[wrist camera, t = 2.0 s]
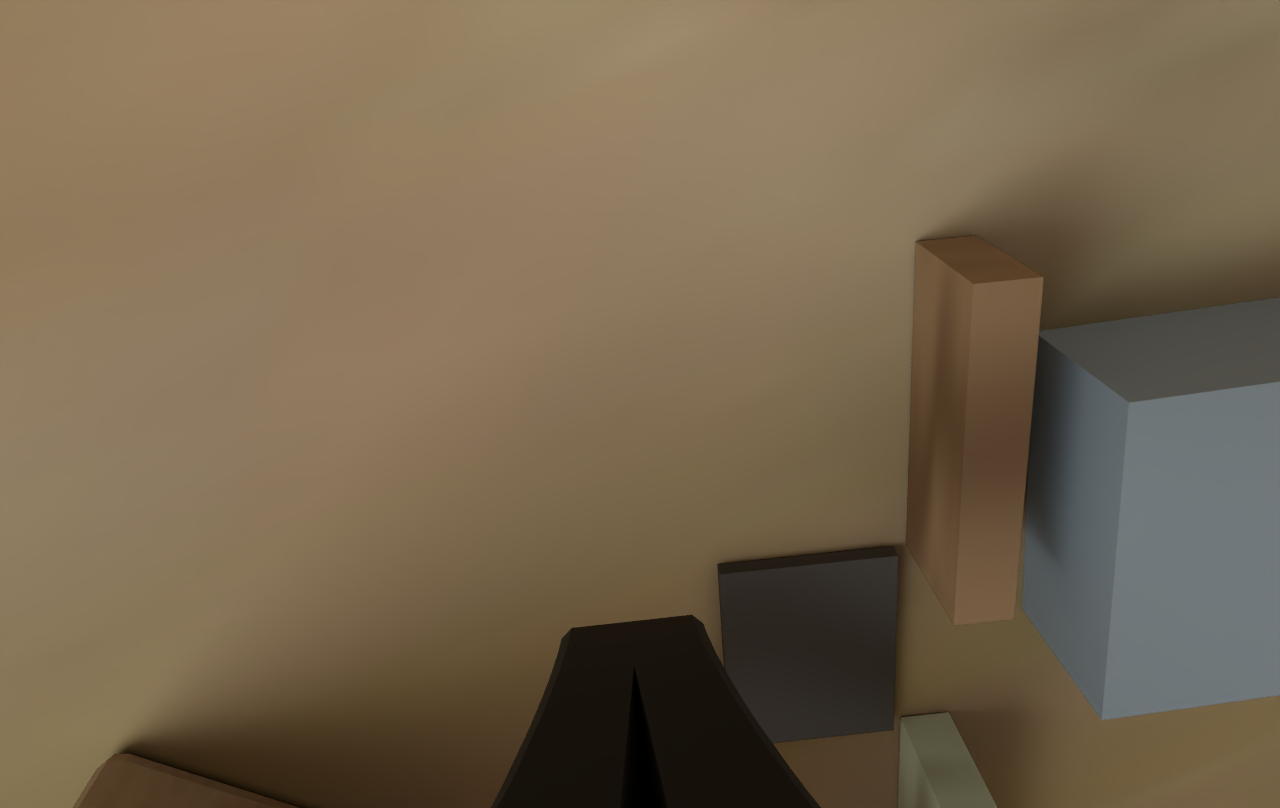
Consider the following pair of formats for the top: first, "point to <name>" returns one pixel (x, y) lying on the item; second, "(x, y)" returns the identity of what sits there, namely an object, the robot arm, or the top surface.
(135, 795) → the wooden block
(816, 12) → the top surface
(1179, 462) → the slate block
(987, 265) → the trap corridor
